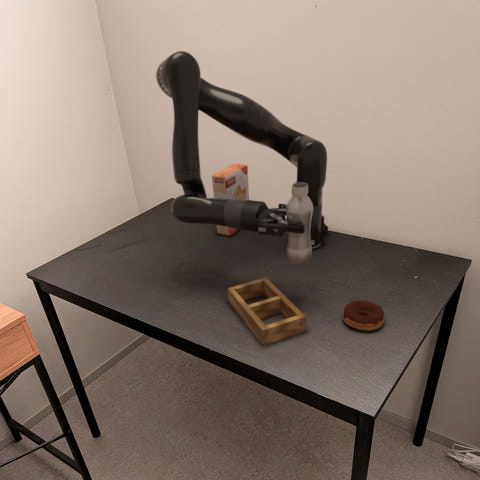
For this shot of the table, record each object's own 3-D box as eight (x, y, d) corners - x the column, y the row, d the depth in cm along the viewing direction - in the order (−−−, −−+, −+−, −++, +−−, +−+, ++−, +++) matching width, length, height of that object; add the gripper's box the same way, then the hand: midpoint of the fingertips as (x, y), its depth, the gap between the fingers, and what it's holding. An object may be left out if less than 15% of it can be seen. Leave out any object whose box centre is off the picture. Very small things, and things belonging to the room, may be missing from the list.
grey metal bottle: (317, 261, 115) (320, 183, 103) (301, 271, 111) (302, 192, 99) (296, 254, 119) (297, 178, 107) (280, 264, 115) (279, 186, 103)
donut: (392, 323, 110) (394, 309, 108) (363, 338, 106) (364, 325, 104) (362, 305, 117) (363, 292, 115) (333, 319, 113) (334, 306, 111)
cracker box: (231, 237, 157) (225, 177, 145) (216, 234, 160) (210, 175, 148) (251, 221, 166) (248, 164, 154) (237, 219, 169) (233, 162, 157)
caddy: (266, 291, 127) (265, 277, 124) (305, 331, 110) (305, 316, 108) (228, 302, 123) (227, 288, 121) (263, 345, 107) (262, 330, 104)
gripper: (231, 211, 107) (298, 220, 100) (256, 190, 117) (319, 197, 110) (233, 240, 111) (298, 250, 104) (258, 218, 121) (318, 226, 115)
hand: (308, 223), depth 107 cm, fingers closed on grey metal bottle, 6 cm apart
